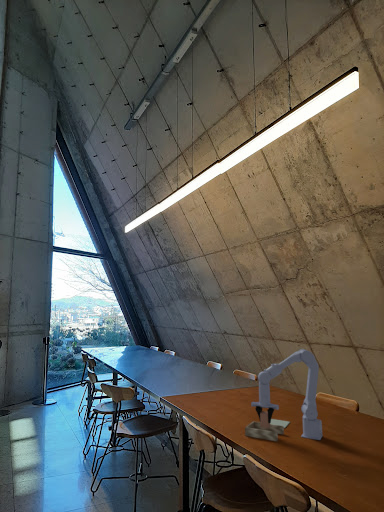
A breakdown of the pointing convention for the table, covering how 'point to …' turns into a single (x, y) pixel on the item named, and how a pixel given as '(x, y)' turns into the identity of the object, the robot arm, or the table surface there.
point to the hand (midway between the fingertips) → (265, 422)
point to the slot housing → (264, 431)
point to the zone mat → (279, 422)
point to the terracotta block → (264, 419)
